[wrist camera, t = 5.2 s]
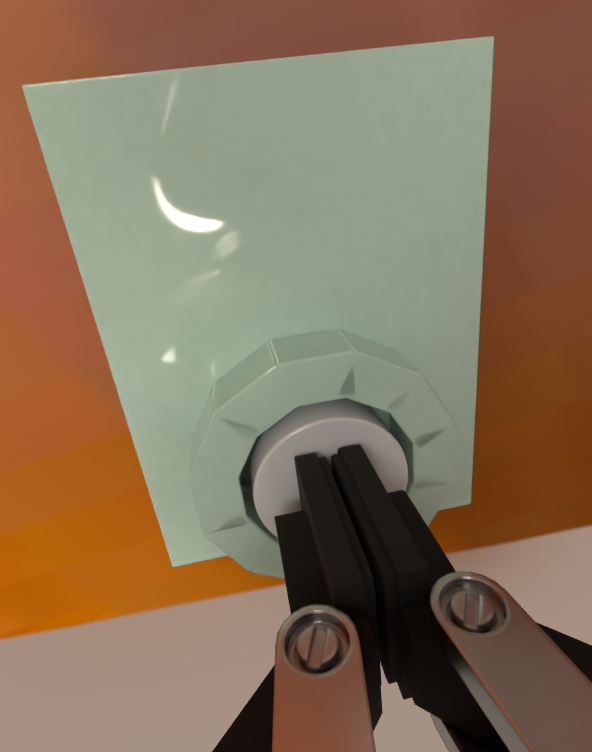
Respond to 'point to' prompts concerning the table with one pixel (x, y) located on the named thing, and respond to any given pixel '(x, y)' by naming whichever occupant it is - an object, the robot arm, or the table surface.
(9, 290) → the table surface
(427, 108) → the green push button box
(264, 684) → the robot arm
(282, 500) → the grey push button
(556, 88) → the table surface
